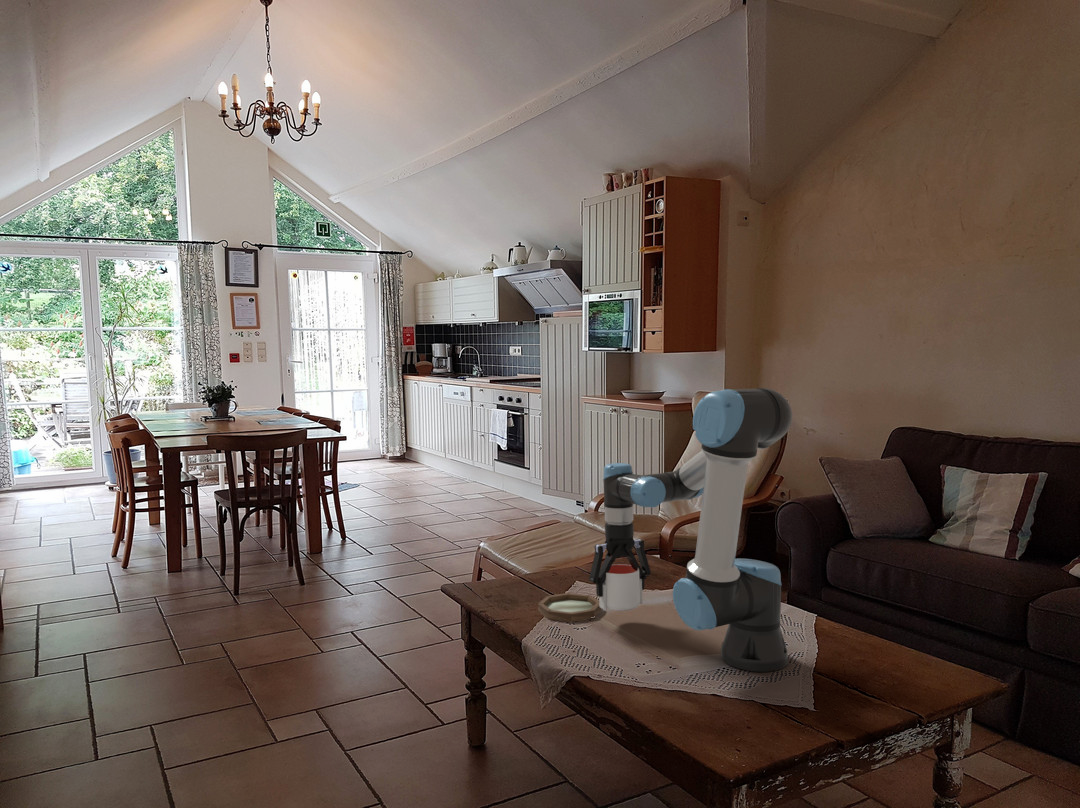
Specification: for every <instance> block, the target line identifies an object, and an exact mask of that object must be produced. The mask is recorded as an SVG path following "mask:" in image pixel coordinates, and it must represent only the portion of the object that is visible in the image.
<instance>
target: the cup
mask: <svg viewBox="0 0 1080 808" xmlns="http://www.w3.org/2000/svg"><path fill="white" fill-rule="evenodd" d="M604 584H606V594H607V609H608V610H612V611H618V612H625V611H632V610H635V609H636V608H637V607H639V606H640V605H641V604H640V582H639V568H637V571H636V570H634V569H633V568H632V566H631V564H612V566H611V568H610V570H609V572H608V573H606V579H605V581H604Z"/></svg>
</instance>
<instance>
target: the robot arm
mask: <svg viewBox="0 0 1080 808" xmlns="http://www.w3.org/2000/svg"><path fill="white" fill-rule="evenodd" d="M692 416H693V417H692V429H693V431H695V432H694V435H695V438H696V440H697V441H698V442H699V443H700V444H701V450H700V451H699V452H698V453H696V454H695V455H694V456H692V457H691V458H690V459H689V460H688V461H686V462H685V463H683V464H682V465H681V466H680V467H678V468H677V469H676V470H673V471H668V472H667V471H665V472H661V473H659V472H658V473H651V474H635V473H633V466H632V465H631V464H629V463H625V462H614V463H613V462H612V463H607V464H605V466H604V468H603V479H602V481H603V497H604V498H603V502H604V503H603V504H604V521H605V522H606V523H605V524H604V535H605V542H604V543H602V544H598V543H595V544H594V555H593V561H592V566H591V569H590V572H589V576H588V577H589V579H588V580H589V581H590V582H591V583H593V584H595V587H596V588H595V589H596V591H595V592H596V596H597V597H598V598H599V600H598V601H599V606H600V608H602V609H603V610H604V611H606V610H607V609H608V608H607V594H606V584H604V581H605V579H606V573H608V572H609V570H610V568H611V566H612V565H614V564H613V563H614V562H616V559H620V558H626V559H627V561H628V563H629V565H631V566H632V568H633V569H634V570H636V571H637V568H639V582H640V604H639V605H641V604H643V591H644V590H645V580H646V579H647V578H648V576H651V575H652V574H651V573H652V571H651V569H650V568H651V567H650V565H649V562H648V557H647V554H646V552H645V541H644V540H643V539H641V538H636V539H634V536H635V533H634V523H633V521H634V505H635V506H639V507H642V508H656V507H658V506H659V505H661V504H664V503H669V502H677V501H687V500H692V499H695V498H699V497H700V496H702V498H701V507H700V515H699V524H698V533H697V537H696V538H697V540H696V546H695V547H696V549H695V556H694V558H693V559H691V560H689V561H688V562H687V565H686V570H685V577H682V578H680V579H678V580H677V581H676V582H675V583H674V585H673V588H672V600H673V605H674V607H675V610H676V612H677V614H678V617H679V618H680V619H681V621H682V622H683V623H684V624H685V625H686V626H687V627H688V628H690V629H693V630H695V631H705V630H713V629H715V628H719V627H722V626H726V625H728V626H727V629H726V632H725V634H724V635H725V636H724V639H723V641H722V642H721V643H722V644H721V646H720V647H721V648H720V657H721V659H722V660H723V661H724V663H726V664H727V665H729V666H731V667H734V668H737V669H739V670H743V671H744V670H745V671H748V672H749V671H750V672H759V673H760V672H764V673H765V672H766V673H767V672H774V671H778V670H781V669H784V668H785V667H786V666H787V665H788V663H789V653H788V649H787V646H786V642H785V639H784V636H783V632H782V630H781V614H782V613H781V612H782V611H781V608H782V603H781V602H782V584H783V583H782V580H781V577H782V576H781V571H780V569H779V567H778V566H776V565H775V564H773V563H770V562H767V561H762V560H758V559H752V558H736V555H737V549H738V547H737V546H738V539H739V533H740V532H739V531H740V524H741V517H742V511H743V509H742V508H743V502H744V496H745V495H744V494H745V487H746V482H747V481H746V480H747V473H748V465H749V462H751V461H752V460H754V459H755V458H756V457H757V454H758V450H766V449H767V448H768V449H769V447H771V446H772V445H774V444H775V443H777V442H778V441H779V440H781V439H782V438H783V437H784V436H785V435H786V434H787V432H788V431H789V430H790V428H791V426H792V421H793V412H792V407H791V405H790V403H789V401H788V400H787V398H786V397H785V396H784V395H783V394H782V393H780V392H778V391H776V390H774V389H771V388H768V387H767V388H766V387H758V388H742V389H741V388H740V389H739V388H738V389H728V388H725V389H721V390H716V391H715V390H714V391H712V392H709V393H707V394H705V396H703V397H702V398H701V399H700V400H699V402H698V403H697V405H696V406H695V409H694V412H693V415H692ZM633 547H634V548H635V550H636V554H637V557H638V558H637V559H638V561H639V562H638V561H637V559H636V557H635V553H634V552H633V551H632V550H633ZM605 550H606V551H605ZM605 552H606V554H605V557H604V553H605ZM603 559H604V560H603Z"/></svg>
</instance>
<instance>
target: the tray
mask: <svg viewBox="0 0 1080 808" xmlns="http://www.w3.org/2000/svg"><path fill="white" fill-rule="evenodd" d="M537 609H538V610H537V612H538V613H540V614H541V615H542V616H543V617H545V618H546V619H547V620H553V621H558V620H559V621H561V622H567V623H576V622H580V621H586V620H587V619H588V620H590V619H589V618H591V617H594V616H596V615H597V616H598V615H599V614H600V613H601V612H602V608H600V606H599V600H598V599H597V598H595V597H594V596H592V595H589V594H580V593H573V592H572V593H571V592H565V593H558V594H553V595H546V596H545V597H543V599H542V600H541V601H539V602H538V603H537ZM597 616H596V617H597ZM559 621H558V622H559Z"/></svg>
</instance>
